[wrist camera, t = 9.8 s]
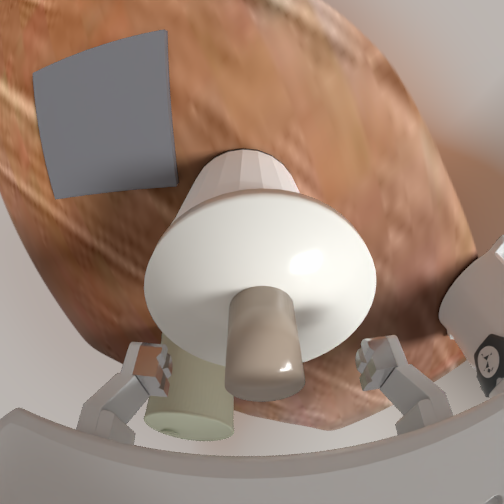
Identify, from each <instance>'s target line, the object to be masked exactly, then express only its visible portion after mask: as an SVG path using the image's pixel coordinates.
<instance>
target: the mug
mask: <svg viewBox="0 0 504 504" xmlns="http://www.w3.org/2000/svg"><path fill="white" fill-rule="evenodd" d="M259 188H263V189H281V190H286V191H291V192H297V193H300V192H299V190H298V188H297V186H296V184H295V182H294V180H293V178H292V176H291V174H290V172H289V171H288V170H287V169H286V167H285V166H284V165H283V164H282V163H281V162H280V161H279V160H277V159H276V158H274V157H273V156H272V155H270V154H267V153H264V152H262V151H259V150H253V149H237V150H231V151H227V152H225V153H222V154H220V155H218V156H216V157H214V158H213V159H212V160H211V161H210V162H208V163H207V164H206V165H205V166H204V167H203V169H202V170H201V172H200V173H199V175H198V176H197V178H196V180H195V182H194V184H193V185H192V187H191V189H190V191H189V193H188V195H187V197H186V199H185V200H184V202H183V204H182V206H181V208H180V210H179V212H178V214H177V216H176V217H175V219H174V220H173V222H174V221H175V220H176V219H177V218H178V217H180V216H181V215H182V214H184V213H185V212H186V211H188V210H189V209H191V208H192V207H194V206H196V205H198V204H200V203H202V202H204V201H205V200H208V199H210V198H213V197H216V196H219V195H222V194H225V193H230V192H234V191H239V190H247V189H259ZM173 222H172V223H173ZM172 223H171V224H172Z"/></svg>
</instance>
